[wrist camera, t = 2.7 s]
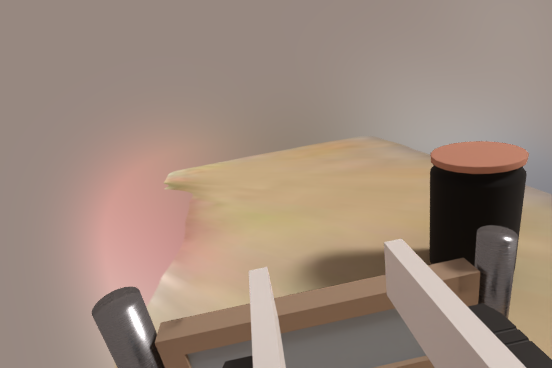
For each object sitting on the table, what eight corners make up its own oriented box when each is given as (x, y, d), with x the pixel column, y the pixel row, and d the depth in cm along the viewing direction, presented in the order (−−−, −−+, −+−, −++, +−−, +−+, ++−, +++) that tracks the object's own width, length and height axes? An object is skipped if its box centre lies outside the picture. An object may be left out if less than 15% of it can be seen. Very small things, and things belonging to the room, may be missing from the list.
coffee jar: (532, 273, 43) (551, 149, 37) (476, 303, 40) (486, 173, 34) (463, 240, 53) (468, 137, 46) (413, 262, 50) (412, 155, 43)
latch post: (469, 392, 30) (481, 222, 24) (498, 407, 29) (521, 230, 22) (461, 413, 29) (472, 237, 22) (492, 430, 27) (514, 246, 21)
